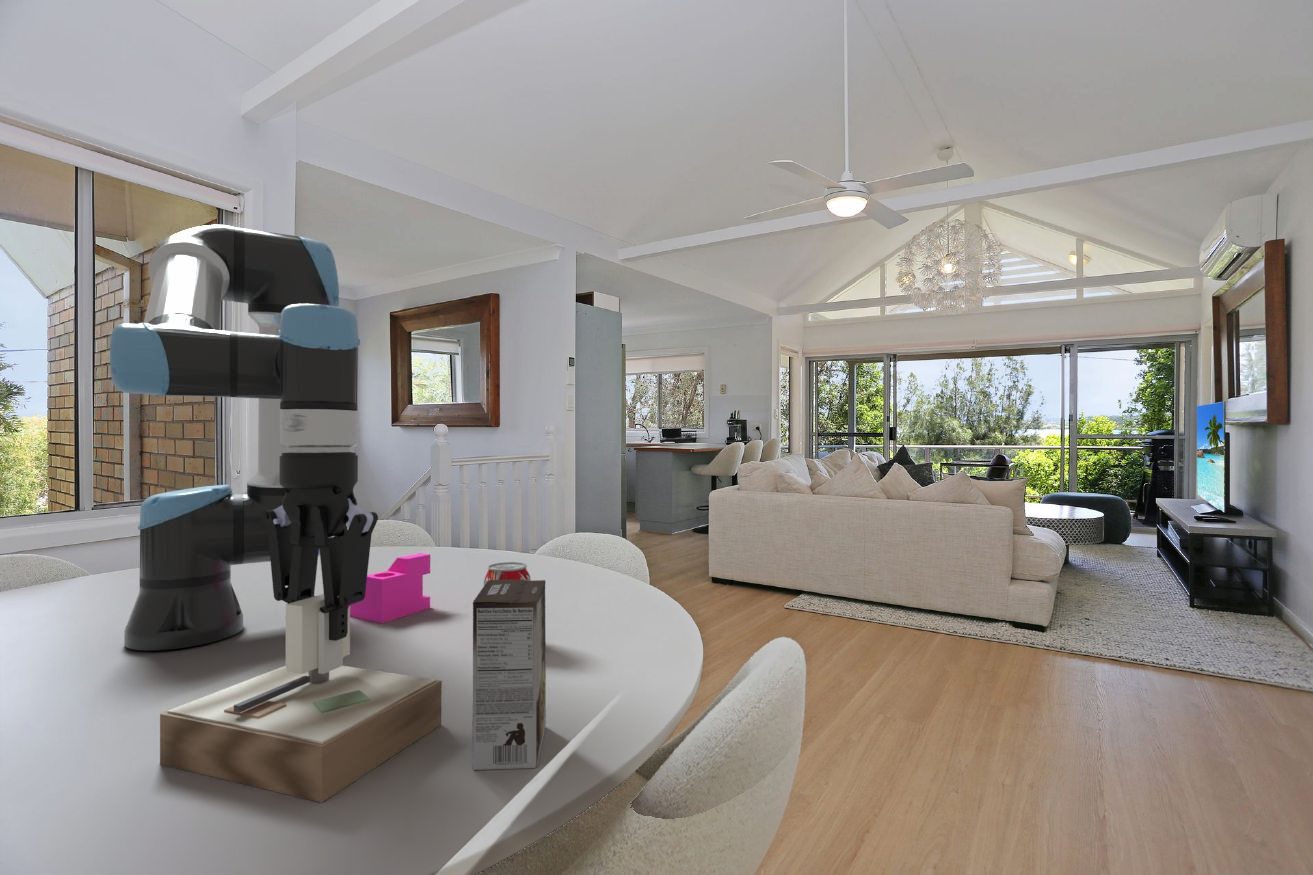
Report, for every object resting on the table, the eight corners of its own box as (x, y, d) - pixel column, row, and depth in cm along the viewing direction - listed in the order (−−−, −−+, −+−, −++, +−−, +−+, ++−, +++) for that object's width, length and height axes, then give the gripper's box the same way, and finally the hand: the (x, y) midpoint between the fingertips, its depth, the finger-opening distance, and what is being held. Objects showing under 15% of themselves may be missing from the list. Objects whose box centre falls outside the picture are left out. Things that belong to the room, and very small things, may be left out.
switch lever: (227, 713, 61) (228, 620, 61) (334, 668, 73) (334, 590, 73) (245, 716, 60) (245, 622, 60) (349, 670, 72) (350, 592, 72)
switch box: (159, 763, 62) (160, 709, 62) (301, 699, 77) (301, 656, 77) (321, 802, 55) (322, 741, 55) (441, 724, 70) (441, 676, 70)
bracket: (430, 610, 117) (430, 554, 117) (381, 625, 108) (382, 563, 108) (385, 602, 123) (385, 548, 123) (336, 615, 114) (336, 557, 114)
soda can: (519, 653, 93) (519, 571, 93) (474, 650, 95) (474, 569, 95) (537, 639, 100) (538, 562, 100) (495, 636, 102) (496, 560, 102)
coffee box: (486, 728, 69) (487, 578, 69) (547, 726, 70) (547, 577, 70) (469, 772, 60) (470, 600, 60) (539, 769, 61) (539, 598, 61)
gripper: (232, 450, 68) (231, 672, 68) (354, 451, 64) (353, 688, 64) (290, 449, 75) (289, 650, 75) (403, 450, 71) (402, 662, 71)
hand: (319, 667), depth 69 cm, fingers closed on switch lever, 2 cm apart
